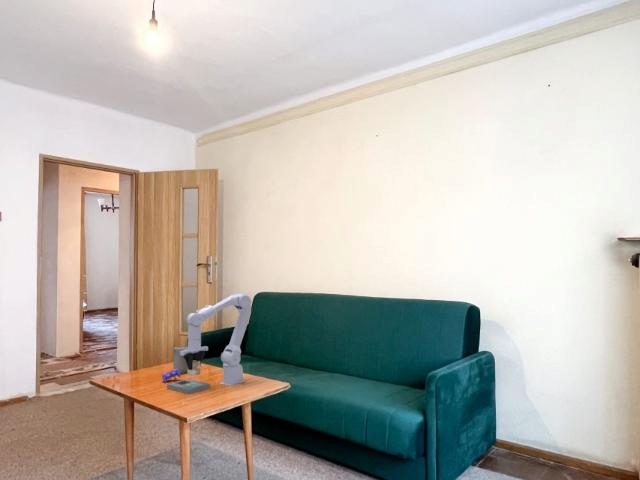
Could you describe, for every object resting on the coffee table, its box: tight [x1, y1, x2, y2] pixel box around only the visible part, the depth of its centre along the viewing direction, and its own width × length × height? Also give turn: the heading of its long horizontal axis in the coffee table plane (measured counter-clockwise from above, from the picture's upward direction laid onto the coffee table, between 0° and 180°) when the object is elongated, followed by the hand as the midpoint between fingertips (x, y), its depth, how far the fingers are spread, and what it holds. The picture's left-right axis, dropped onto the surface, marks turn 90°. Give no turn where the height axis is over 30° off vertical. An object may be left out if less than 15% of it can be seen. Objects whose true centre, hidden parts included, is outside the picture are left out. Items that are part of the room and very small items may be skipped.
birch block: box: [187, 359, 201, 377], centre depth 198 cm, size 4×4×6 cm
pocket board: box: [166, 378, 211, 395], centre depth 200 cm, size 12×16×3 cm
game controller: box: [161, 368, 182, 384], centre depth 213 cm, size 10×8×10 cm
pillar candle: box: [173, 345, 193, 376], centre depth 233 cm, size 10×10×15 cm
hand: (194, 368), depth 198 cm, fingers closed on birch block, 4 cm apart
